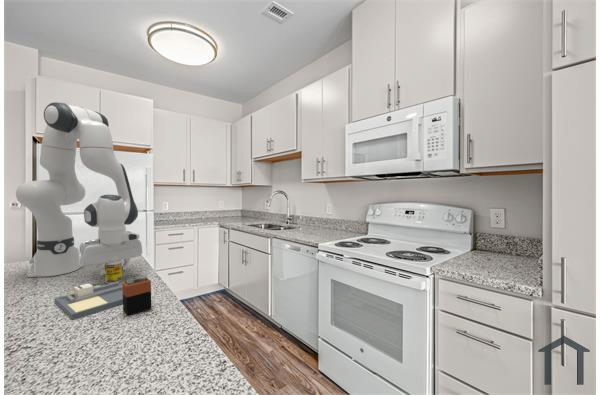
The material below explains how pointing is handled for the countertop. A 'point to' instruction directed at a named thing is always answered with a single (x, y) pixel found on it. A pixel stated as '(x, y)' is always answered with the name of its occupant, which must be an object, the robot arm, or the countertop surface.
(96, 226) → the robot arm
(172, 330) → the countertop surface
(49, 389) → the countertop surface
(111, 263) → the supplement bottle
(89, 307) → the board
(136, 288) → the battery
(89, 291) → the block
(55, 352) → the countertop surface
